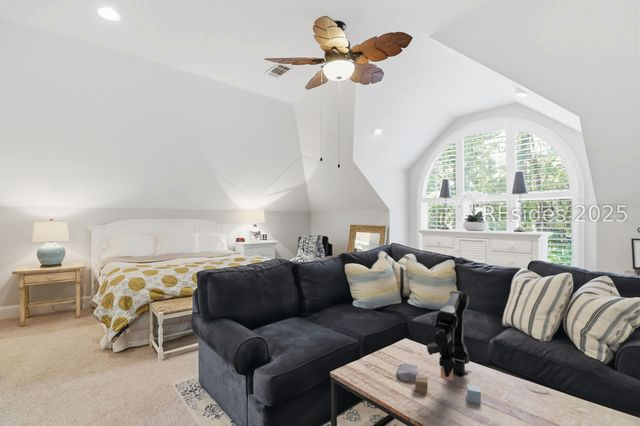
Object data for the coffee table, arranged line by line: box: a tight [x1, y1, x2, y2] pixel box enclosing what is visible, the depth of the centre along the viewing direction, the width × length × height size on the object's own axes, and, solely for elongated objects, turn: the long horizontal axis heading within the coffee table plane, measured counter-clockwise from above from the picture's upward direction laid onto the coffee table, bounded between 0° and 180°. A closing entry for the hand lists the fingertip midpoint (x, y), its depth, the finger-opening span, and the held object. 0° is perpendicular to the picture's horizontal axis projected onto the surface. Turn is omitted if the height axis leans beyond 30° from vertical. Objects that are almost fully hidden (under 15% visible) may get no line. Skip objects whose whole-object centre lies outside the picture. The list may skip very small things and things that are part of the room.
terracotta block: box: [440, 366, 454, 381], centre depth 146 cm, size 5×5×5 cm
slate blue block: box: [466, 383, 482, 405], centre depth 142 cm, size 5×5×5 cm
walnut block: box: [414, 375, 429, 394], centre depth 150 cm, size 5×5×5 cm
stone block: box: [397, 363, 419, 382], centre depth 163 cm, size 12×5×10 cm
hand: (446, 373), depth 146 cm, fingers closed on terracotta block, 5 cm apart
